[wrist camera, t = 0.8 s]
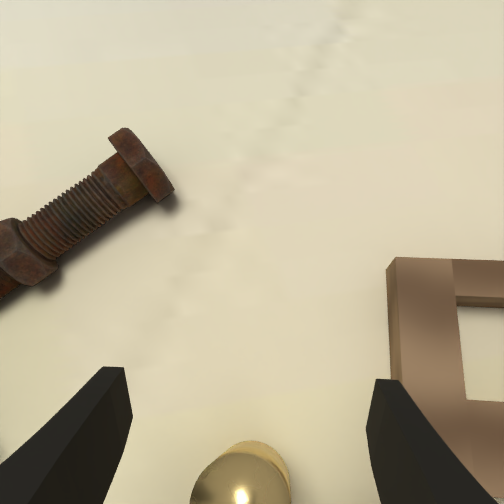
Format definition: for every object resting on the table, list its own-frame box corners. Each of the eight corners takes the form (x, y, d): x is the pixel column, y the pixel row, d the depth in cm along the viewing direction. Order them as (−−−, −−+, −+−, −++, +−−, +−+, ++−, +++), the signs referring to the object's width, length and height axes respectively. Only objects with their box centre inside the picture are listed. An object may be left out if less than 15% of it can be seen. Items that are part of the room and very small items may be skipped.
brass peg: (288, 532, 22) (289, 577, 17) (208, 524, 23) (183, 565, 17) (291, 443, 24) (292, 457, 18) (216, 437, 24) (194, 449, 18)
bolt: (-1, 297, 30) (163, 179, 32) (0, 341, 27) (186, 203, 28) (-73, 247, 26) (118, 115, 28) (-84, 289, 23) (137, 134, 24)
